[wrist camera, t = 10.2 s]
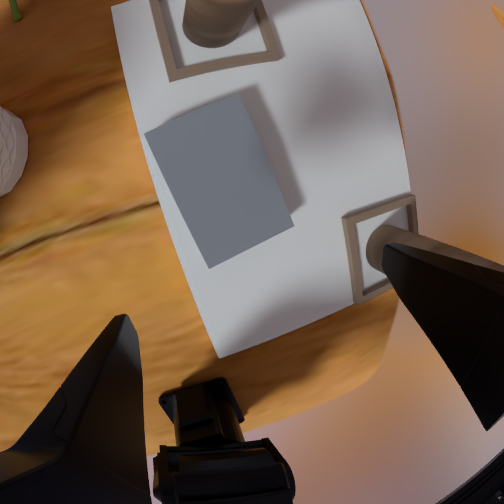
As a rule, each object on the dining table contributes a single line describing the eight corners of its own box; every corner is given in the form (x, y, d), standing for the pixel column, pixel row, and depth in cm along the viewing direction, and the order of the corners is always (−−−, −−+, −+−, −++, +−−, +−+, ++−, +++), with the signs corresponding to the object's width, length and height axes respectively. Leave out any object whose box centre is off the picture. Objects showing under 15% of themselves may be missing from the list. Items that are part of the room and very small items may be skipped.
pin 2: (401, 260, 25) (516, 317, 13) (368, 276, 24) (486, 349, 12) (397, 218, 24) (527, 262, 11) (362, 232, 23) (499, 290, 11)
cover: (283, 220, 21) (294, 226, 19) (205, 259, 20) (209, 269, 18) (232, 100, 18) (239, 93, 16) (146, 137, 17) (143, 133, 15)
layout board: (408, 268, 27) (421, 274, 25) (216, 350, 24) (220, 363, 22) (345, -11, 18) (356, -19, 16) (113, 13, 14) (109, 2, 13)
